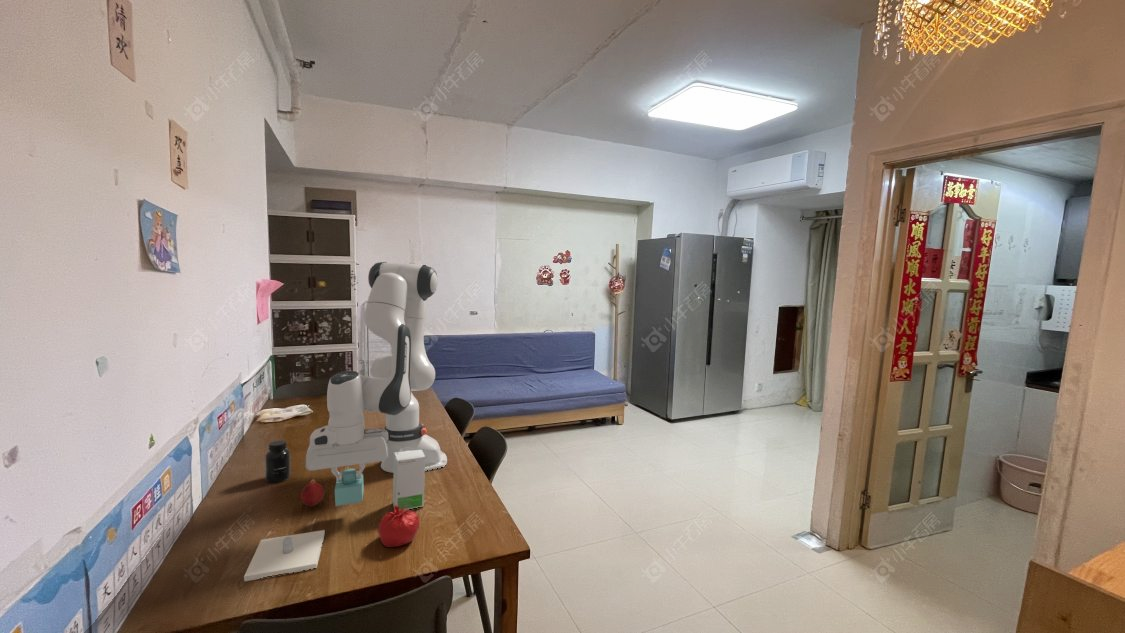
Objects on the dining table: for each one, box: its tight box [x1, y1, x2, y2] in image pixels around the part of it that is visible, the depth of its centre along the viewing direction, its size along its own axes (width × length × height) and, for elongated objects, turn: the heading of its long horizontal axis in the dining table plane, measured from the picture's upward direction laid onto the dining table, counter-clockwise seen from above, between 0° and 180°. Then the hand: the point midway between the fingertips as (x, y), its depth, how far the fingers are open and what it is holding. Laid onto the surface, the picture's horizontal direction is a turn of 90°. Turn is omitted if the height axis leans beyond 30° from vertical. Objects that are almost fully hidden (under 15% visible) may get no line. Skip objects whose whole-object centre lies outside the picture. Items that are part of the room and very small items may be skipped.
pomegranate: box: [377, 505, 420, 548], centre depth 114 cm, size 10×10×9 cm
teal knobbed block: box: [334, 468, 365, 507], centre depth 123 cm, size 7×7×8 cm
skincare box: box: [392, 450, 426, 510], centre depth 130 cm, size 8×7×16 cm
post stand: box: [243, 529, 326, 582], centre depth 106 cm, size 14×14×5 cm
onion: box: [300, 479, 325, 507], centre depth 128 cm, size 6×6×8 cm
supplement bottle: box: [264, 439, 291, 484], centre depth 143 cm, size 7×7×12 cm
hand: (349, 479), depth 122 cm, fingers closed on teal knobbed block, 3 cm apart
